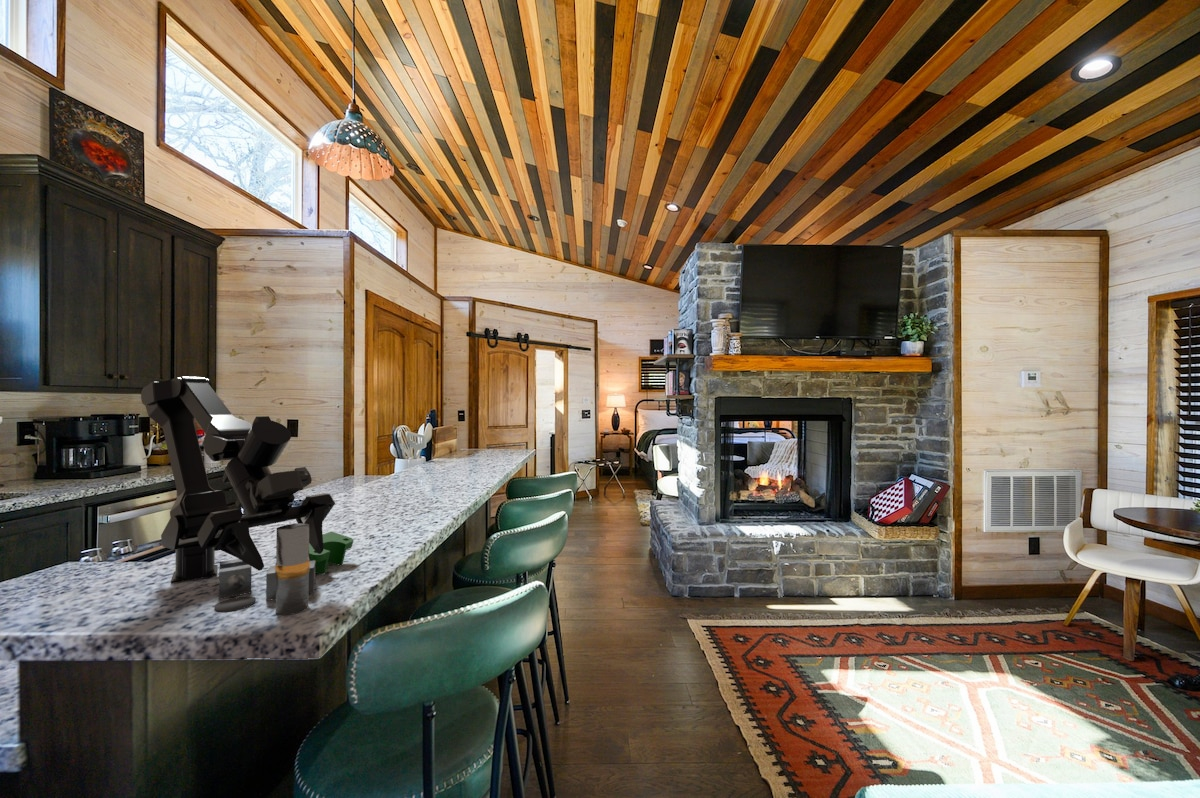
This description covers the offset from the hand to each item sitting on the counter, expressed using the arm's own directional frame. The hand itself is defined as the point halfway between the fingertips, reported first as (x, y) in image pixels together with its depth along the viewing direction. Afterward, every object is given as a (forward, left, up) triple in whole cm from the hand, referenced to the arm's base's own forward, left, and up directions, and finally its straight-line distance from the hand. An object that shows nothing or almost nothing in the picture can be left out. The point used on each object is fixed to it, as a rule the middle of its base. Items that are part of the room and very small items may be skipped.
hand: (293, 560), depth 78 cm
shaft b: (-8, 0, -8) cm, 11 cm away
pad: (-8, -7, -8) cm, 13 cm away
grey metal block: (-15, -7, -8) cm, 19 cm away
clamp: (-19, +6, -8) cm, 22 cm away
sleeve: (0, 0, -8) cm, 8 cm away
